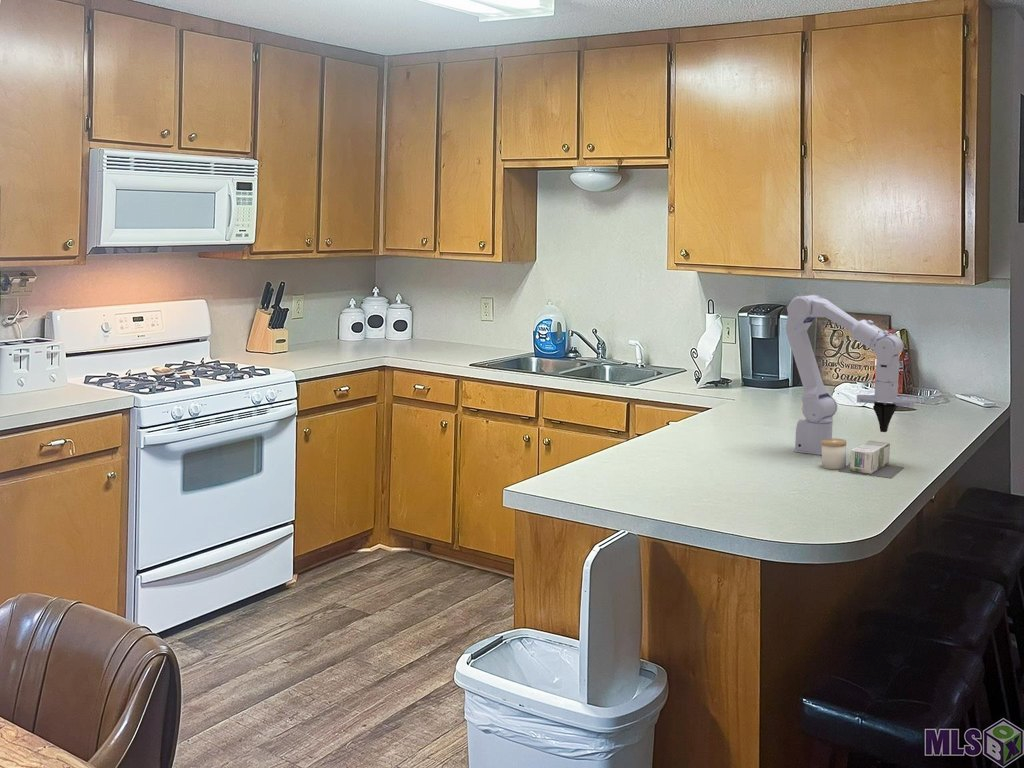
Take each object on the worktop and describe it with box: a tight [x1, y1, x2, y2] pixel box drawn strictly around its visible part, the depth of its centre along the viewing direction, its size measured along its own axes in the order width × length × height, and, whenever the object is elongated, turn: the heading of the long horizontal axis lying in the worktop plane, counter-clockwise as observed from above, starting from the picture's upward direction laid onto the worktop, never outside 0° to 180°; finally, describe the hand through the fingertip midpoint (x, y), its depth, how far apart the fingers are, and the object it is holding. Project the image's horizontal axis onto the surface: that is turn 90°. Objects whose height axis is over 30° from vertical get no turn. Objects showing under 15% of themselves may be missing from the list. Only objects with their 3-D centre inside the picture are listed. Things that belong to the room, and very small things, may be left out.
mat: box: [838, 462, 905, 479], centre depth 256 cm, size 13×14×1 cm
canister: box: [821, 437, 847, 470], centre depth 258 cm, size 6×6×7 cm
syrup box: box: [850, 440, 891, 474], centre depth 257 cm, size 6×6×14 cm
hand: (883, 431), depth 263 cm, fingers closed
